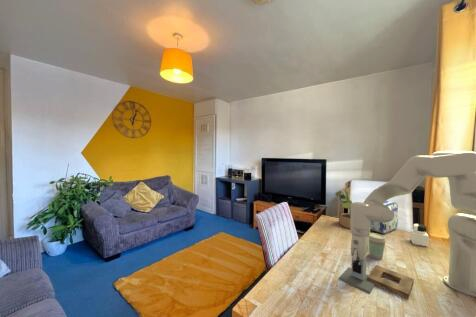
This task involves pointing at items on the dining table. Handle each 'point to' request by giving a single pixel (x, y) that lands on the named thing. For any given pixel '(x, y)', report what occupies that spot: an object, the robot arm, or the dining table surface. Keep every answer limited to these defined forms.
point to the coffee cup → (376, 245)
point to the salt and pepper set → (419, 235)
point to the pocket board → (400, 289)
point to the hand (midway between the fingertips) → (358, 269)
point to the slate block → (363, 270)
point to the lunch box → (387, 226)
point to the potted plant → (345, 218)
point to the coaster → (357, 281)
